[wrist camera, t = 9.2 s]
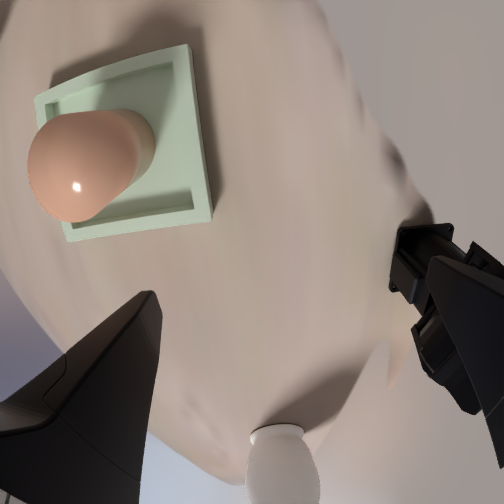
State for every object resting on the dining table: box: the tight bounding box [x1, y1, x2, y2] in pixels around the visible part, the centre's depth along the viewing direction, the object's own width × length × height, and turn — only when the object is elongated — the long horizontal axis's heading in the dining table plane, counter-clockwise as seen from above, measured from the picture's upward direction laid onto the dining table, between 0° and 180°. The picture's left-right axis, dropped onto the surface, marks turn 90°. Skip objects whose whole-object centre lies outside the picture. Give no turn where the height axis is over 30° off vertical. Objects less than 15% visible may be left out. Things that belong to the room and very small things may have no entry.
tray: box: [34, 44, 214, 243], centre depth 17 cm, size 12×12×2 cm
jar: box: [245, 424, 320, 504], centre depth 31 cm, size 11×10×15 cm
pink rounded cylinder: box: [28, 109, 155, 223], centre depth 14 cm, size 6×6×7 cm
